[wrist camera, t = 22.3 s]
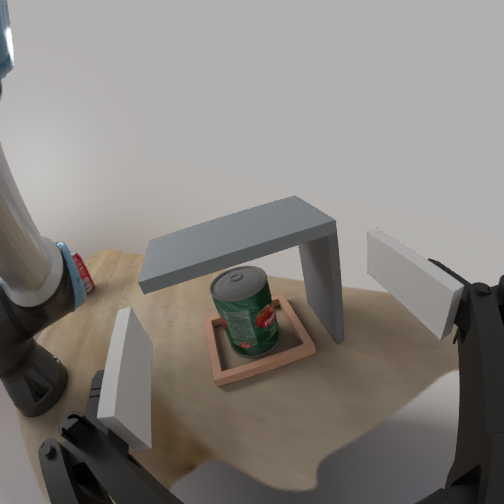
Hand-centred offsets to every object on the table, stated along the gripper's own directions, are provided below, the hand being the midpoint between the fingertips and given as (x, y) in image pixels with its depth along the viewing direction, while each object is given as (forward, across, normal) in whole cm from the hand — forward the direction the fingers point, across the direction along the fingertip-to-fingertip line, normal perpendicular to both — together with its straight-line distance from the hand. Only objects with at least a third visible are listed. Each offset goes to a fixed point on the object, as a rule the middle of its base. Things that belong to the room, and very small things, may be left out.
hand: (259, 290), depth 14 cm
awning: (+19, +1, -23) cm, 30 cm away
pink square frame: (+20, 0, -23) cm, 30 cm away
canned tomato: (+20, 0, -23) cm, 30 cm away
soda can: (+58, -43, -24) cm, 76 cm away
